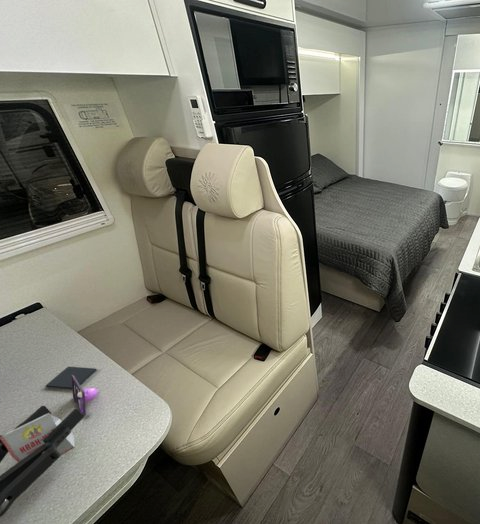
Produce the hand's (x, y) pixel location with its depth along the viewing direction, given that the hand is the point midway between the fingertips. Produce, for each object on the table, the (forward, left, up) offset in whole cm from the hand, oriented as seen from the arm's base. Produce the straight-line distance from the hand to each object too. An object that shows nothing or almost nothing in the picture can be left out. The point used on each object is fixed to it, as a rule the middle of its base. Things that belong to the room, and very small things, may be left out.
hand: (62, 411), depth 61 cm
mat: (-18, +14, -9) cm, 24 cm away
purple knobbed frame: (-7, +8, -9) cm, 14 cm away
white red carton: (0, -5, -6) cm, 8 cm away
